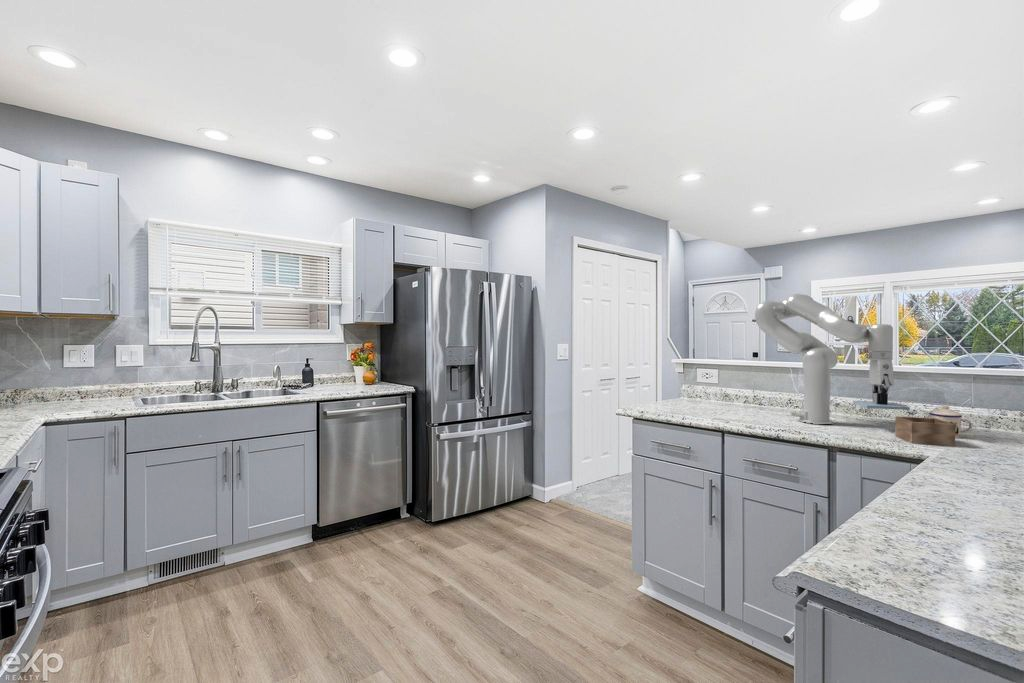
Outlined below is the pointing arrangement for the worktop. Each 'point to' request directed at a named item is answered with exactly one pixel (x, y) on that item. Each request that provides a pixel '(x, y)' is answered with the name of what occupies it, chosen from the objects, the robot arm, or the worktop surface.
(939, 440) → the box
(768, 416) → the worktop surface
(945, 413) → the teacup with lid
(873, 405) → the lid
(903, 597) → the worktop surface
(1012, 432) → the worktop surface
